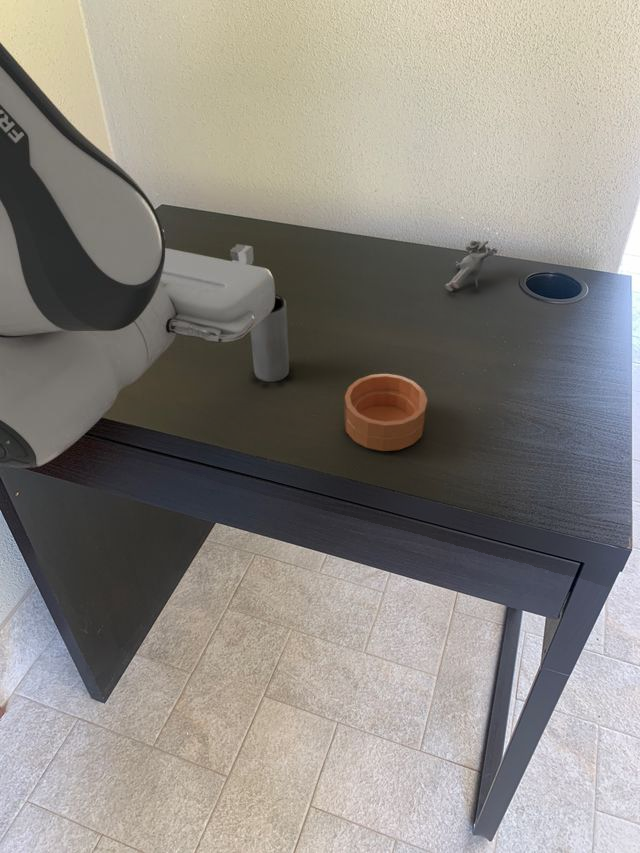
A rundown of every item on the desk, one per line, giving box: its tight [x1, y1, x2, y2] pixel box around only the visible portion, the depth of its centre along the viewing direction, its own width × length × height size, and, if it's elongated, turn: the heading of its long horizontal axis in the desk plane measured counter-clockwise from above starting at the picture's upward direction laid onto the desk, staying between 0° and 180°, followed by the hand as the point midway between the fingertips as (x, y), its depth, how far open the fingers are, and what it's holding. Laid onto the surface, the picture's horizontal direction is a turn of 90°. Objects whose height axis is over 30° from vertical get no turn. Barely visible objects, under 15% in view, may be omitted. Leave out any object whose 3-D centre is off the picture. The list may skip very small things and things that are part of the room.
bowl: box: [343, 373, 428, 452], centre depth 79 cm, size 9×9×4 cm
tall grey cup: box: [250, 294, 290, 383], centre depth 85 cm, size 4×4×10 cm
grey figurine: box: [444, 240, 498, 293], centre depth 104 cm, size 10×6×9 cm
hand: (201, 243), depth 65 cm, fingers open, 8 cm apart
